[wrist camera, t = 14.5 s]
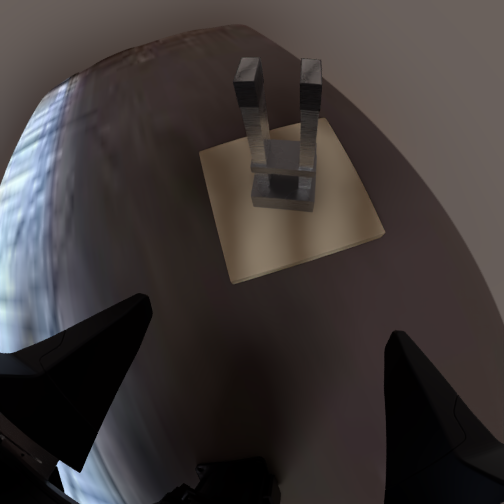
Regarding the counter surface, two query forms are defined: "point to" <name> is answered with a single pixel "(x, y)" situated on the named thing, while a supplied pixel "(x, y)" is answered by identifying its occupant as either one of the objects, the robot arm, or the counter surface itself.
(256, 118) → the two-prong grey stand
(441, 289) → the counter surface
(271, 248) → the plate
